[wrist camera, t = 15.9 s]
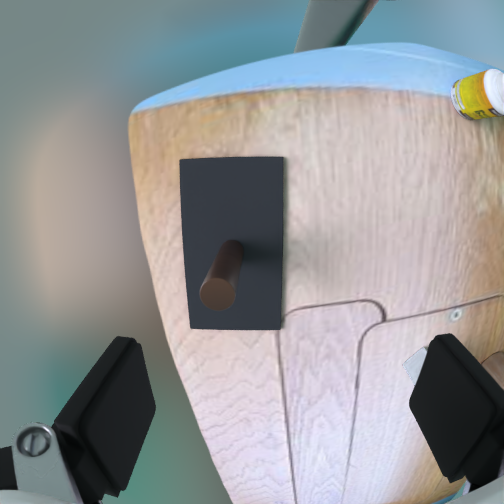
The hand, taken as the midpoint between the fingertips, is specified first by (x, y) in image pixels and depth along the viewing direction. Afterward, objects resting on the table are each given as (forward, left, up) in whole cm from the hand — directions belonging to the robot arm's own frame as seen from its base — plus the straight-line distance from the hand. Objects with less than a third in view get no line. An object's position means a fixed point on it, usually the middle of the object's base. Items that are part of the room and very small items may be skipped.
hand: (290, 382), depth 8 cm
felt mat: (+2, -4, -25) cm, 25 cm away
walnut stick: (+2, -4, -25) cm, 25 cm away
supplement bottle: (-18, +26, -25) cm, 40 cm away
